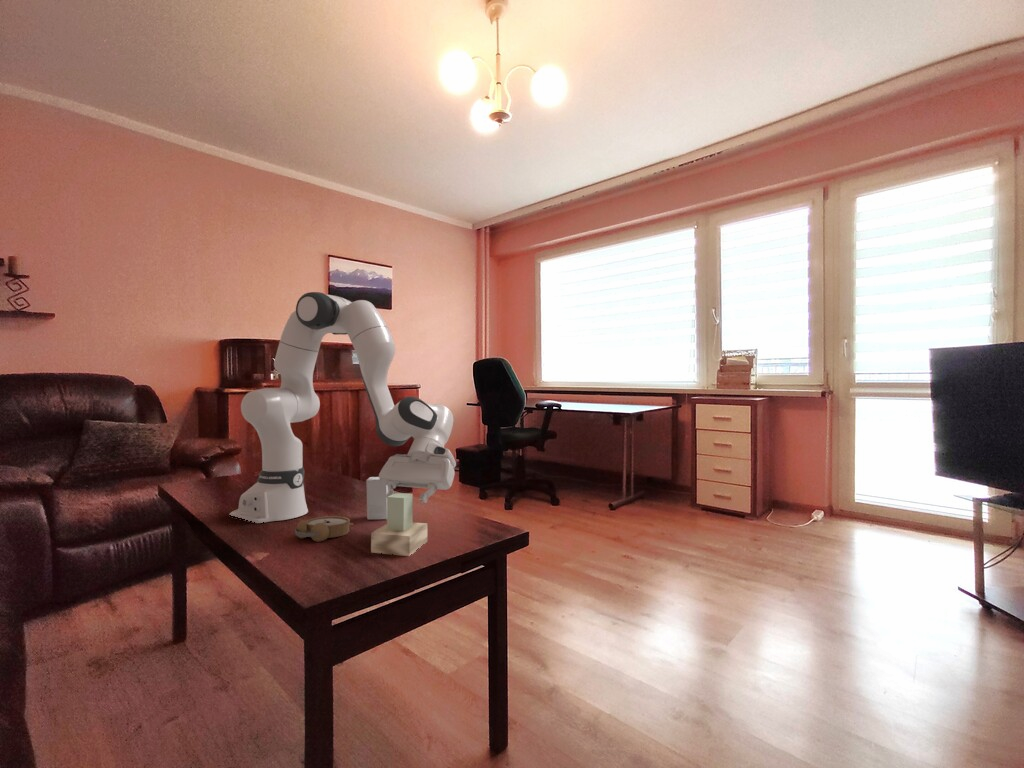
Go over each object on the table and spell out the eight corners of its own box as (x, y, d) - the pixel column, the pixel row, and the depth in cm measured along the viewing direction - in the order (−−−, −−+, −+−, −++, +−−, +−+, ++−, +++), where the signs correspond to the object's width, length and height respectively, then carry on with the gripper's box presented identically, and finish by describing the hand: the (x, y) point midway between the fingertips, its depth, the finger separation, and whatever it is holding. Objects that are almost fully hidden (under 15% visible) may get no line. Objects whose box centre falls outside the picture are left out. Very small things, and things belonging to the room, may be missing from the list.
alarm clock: (359, 519, 123) (316, 525, 110) (357, 537, 122) (313, 545, 109) (329, 514, 128) (284, 519, 114) (327, 532, 127) (281, 539, 114)
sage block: (387, 529, 109) (387, 496, 109) (396, 524, 113) (396, 492, 113) (403, 531, 107) (403, 498, 107) (412, 525, 112) (412, 493, 112)
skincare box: (390, 515, 136) (390, 476, 136) (386, 520, 132) (387, 479, 132) (370, 515, 136) (370, 476, 136) (365, 520, 131) (366, 479, 131)
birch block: (371, 553, 106) (371, 532, 106) (391, 539, 116) (391, 520, 116) (409, 557, 104) (409, 536, 104) (427, 543, 114) (427, 523, 114)
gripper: (387, 446, 123) (365, 490, 113) (454, 450, 117) (437, 496, 107) (395, 460, 127) (375, 503, 118) (461, 464, 121) (445, 509, 112)
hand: (405, 500), depth 113 cm, fingers open, 8 cm apart
